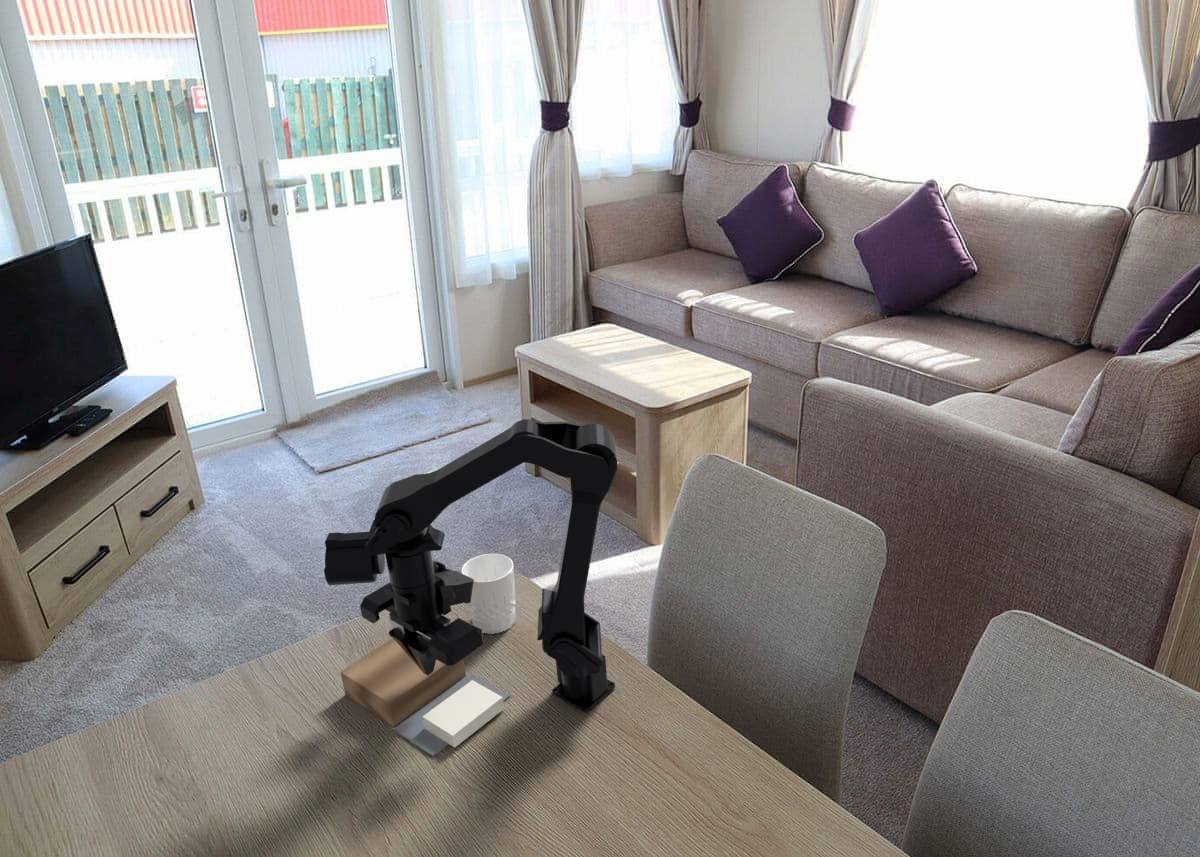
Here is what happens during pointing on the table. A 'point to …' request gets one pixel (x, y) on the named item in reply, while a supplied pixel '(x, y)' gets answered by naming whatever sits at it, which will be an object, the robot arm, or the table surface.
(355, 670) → the tan beveled block
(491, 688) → the mat
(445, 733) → the white sticky note pad
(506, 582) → the white cup
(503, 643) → the table surface
